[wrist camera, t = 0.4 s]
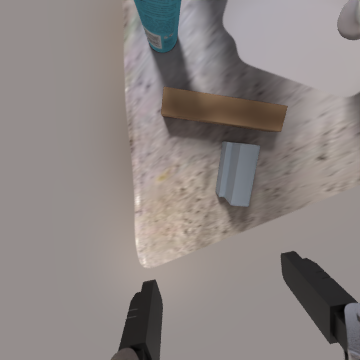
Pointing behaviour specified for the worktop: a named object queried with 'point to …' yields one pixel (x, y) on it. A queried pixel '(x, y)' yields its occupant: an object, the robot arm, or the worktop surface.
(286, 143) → the worktop surface
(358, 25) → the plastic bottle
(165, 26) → the tube
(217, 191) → the ridge
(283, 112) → the walnut bar
